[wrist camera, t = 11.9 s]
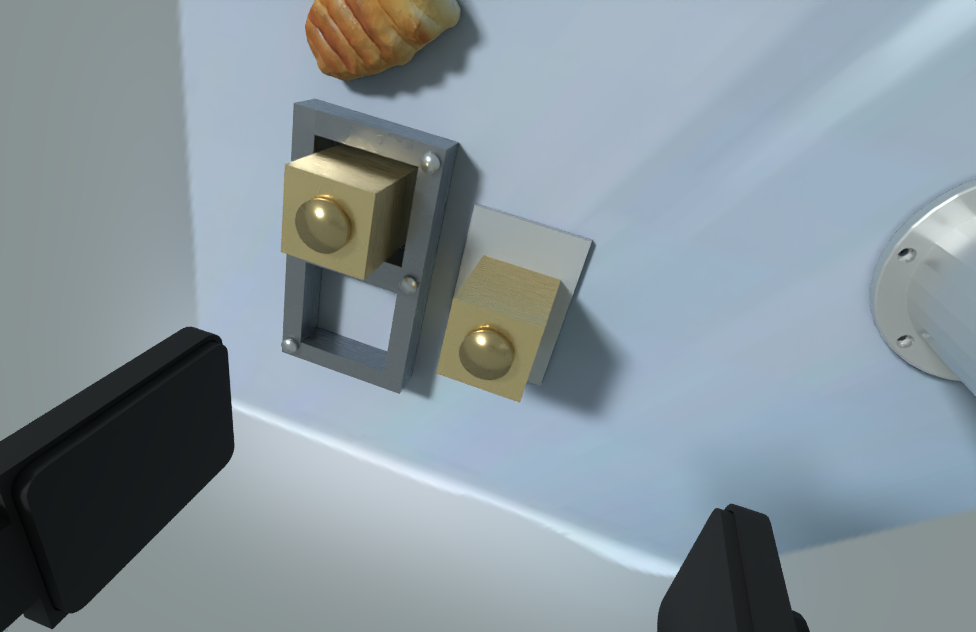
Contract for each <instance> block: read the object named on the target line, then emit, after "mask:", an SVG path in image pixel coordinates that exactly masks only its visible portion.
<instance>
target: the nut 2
mask: <svg viewBox="0 0 976 632" xmlns="http://www.w3.org/2000/svg"><path fill="white" fill-rule="evenodd" d="M560 281H561V280H560V279H556V278H553V277H550V276H547V275H544V274H541V273H538V272H535V271H532V270H529V269H525V268H522V267H519V266H516V265H513V264H510V263H507V262H504V261H501V260H497V259H494V258H491V257H488V256H485V255H483V257H482V258H481V260H480V261H479V262H478V264H477V265H476V267H475V268H474V269H473V271H472V272H471V274H470V275H469V276H468V278H467V279H466V281H465V282H464V283H463V285H462V286H461V288H460V289H459V290H458V292H457V293H456V295H455V296H454V297H453V301H452V305H451V310H450V314H449V319H448V323H447V327H446V332H445V336H444V341H443V345H442V350H441V354H440V358H439V363H438V367H437V372H436V373H437V374H440V375H443V376H445V377H448V378H451V379H454V380H457V381H460V382H463V383H465V384H468V385H471V386H474V387H477V388H480V389H483V390H486V391H488V392H491V393H494V394H497V395H500V396H503V397H506V398H508V399H511V400H514V401H517V402H520V401H521V398H522V395H523V392H524V389H525V386H526V383H527V380H528V377H529V374H530V371H531V368H532V365H533V362H534V359H535V356H536V353H537V350H538V347H539V344H540V341H541V338H542V335H543V332H544V329H545V326H546V323H547V320H548V317H549V314H550V311H551V308H552V305H553V302H554V299H555V296H556V293H557V290H558V287H559V284H560Z"/></svg>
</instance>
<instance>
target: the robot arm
mask: <svg viewBox="0 0 976 632" xmlns="http://www.w3.org/2000/svg"><path fill="white" fill-rule="evenodd" d="M903 249H905V251H904V252H903V253H901V254H899V252H901V251H902V250H903ZM870 309H871V313H872V317H873V320H874V324H875V325H876V327H877V329H878V331H879V332H880V334H881V336H882V338H883V339H884V340H885V341H886V343H887V344H888V345H889V346H890V348H891V349H892V350H893V351H894V352H895V353H896V354H898V355H899V356H900V357H901V358H902V359H904V360H905V361H906V362H907V363H909V364H910V365H912V366H914V367H916V368H918V369H920V370H922V371H924V372H926V373H929V374H932V375H935V376H938V377H941V378H944V379H948V380H955V381H961V382H963V383H964V384H965V385H966V387H967V388H968V389H969V390H970V391H971V392H972V393H973V394H974V395H975V396H976V179H974V180H972V181H969V182H966V183H964V184H961V185H959V186H958V187H956V188H954V189H952V190H950V191H948V192H946V193H945V194H943V195H941V196H939V197H937V198H936V199H934V200H933V201H932V202H930V203H929V204H927V205H926V206H925V207H923V208H922V209H921V210H919V211H918V212H916V213H915V214H914V215H913V216H912V217H911V218H910V219H909V220H908V221H907V222H906V223H905V224H904V225H903V226H902V227H901V228H900V229H899V230H898V231H897V232H896V233H895V235H894V236H893V237H892V239H891V240H890V242H889V243H888V244H887V246H886V247H885V248H884V250H883V252H882V254H881V256H880V258H879V260H878V262H877V264H876V267H875V269H874V272H873V276H872V280H871V285H870ZM233 452H234V433H233V420H232V405H231V391H230V377H229V363H228V351H227V348H226V347H225V346H224V345H223V343H222V340H221V338H220V337H219V336H218V335H215V334H212V333H209V332H206V331H203V330H200V329H197V328H194V327H186V328H183V329H181V330H179V331H178V332H177V333H175V334H173V335H171V336H170V337H168V338H167V339H165V340H163V341H162V342H160V343H158V344H157V345H155V346H154V347H152V348H150V349H149V350H147V351H146V352H144V353H142V354H141V355H139V356H137V357H136V358H134V359H133V360H131V361H130V362H128V363H126V364H125V365H123V366H122V367H120V368H118V369H116V370H115V371H113V372H112V373H110V374H108V375H107V376H105V377H104V378H102V379H100V380H99V381H97V382H95V383H94V384H92V385H91V386H89V387H87V388H86V389H84V390H83V391H81V392H79V393H78V394H76V395H75V396H73V397H71V398H70V399H68V400H66V401H65V402H63V403H62V404H60V405H58V406H57V407H55V408H53V409H52V410H50V411H49V412H47V413H45V414H44V415H42V416H41V417H39V418H37V419H36V420H34V421H32V422H31V423H29V424H28V425H26V426H24V427H23V428H21V429H20V430H18V431H17V432H15V433H13V434H12V435H10V436H8V437H7V438H5V439H3V440H2V441H0V632H7V629H8V627H9V625H11V624H12V623H13V622H14V621H15V620H16V619H17V618H18V617H19V616H21V615H22V614H24V616H25V617H26V618H28V619H30V620H32V621H35V622H37V623H39V624H41V625H44V626H46V627H48V628H51V629H53V628H54V627H55V626H56V625H57V624H58V623H59V622H60V621H61V620H62V619H63V618H65V617H66V615H67V614H69V613H75V612H77V611H79V610H81V609H82V608H83V607H84V606H86V605H87V604H88V603H89V602H90V601H91V600H92V599H93V598H94V597H95V596H96V595H97V594H98V593H99V592H100V591H101V590H102V589H103V588H104V587H105V586H106V585H107V584H108V583H109V582H110V581H111V580H112V579H113V578H114V577H115V576H116V575H117V574H118V573H119V572H120V571H121V570H122V568H124V567H125V566H126V565H127V564H128V563H129V562H130V561H131V560H132V559H133V558H134V557H135V556H136V555H137V554H138V553H139V552H140V551H141V550H142V549H143V548H144V547H145V546H146V545H147V544H148V543H149V542H150V541H151V540H152V539H153V538H154V537H155V536H156V535H157V534H158V533H159V532H160V531H161V530H162V529H163V528H164V527H165V526H166V525H167V524H168V522H170V521H171V520H172V519H173V518H174V517H175V516H176V515H177V514H178V513H179V512H180V511H181V510H182V509H183V508H184V507H185V506H186V505H187V503H189V502H190V501H191V500H192V499H193V498H194V497H195V496H196V495H197V494H198V492H200V491H201V490H202V489H203V488H204V487H205V486H206V485H207V484H208V482H210V481H211V480H212V479H213V478H214V477H215V476H216V475H217V474H218V473H219V472H220V471H221V470H222V469H223V468H224V467H225V466H226V464H227V463H228V462H229V460H230V459H231V457H232V455H233ZM657 624H658V625H657V630H658V631H657V632H810V631H809V628H808V626H807V623H806V621H805V619H804V618H803V617H802V615H801V614H799V613H797V612H795V611H793V610H791V605H790V602H789V597H788V594H787V589H786V585H785V581H784V577H783V572H782V568H781V564H780V560H779V555H778V551H777V547H776V543H775V539H774V535H773V531H772V526H771V523H770V520H769V518H768V517H767V516H766V515H765V514H762V513H759V512H756V511H753V510H750V509H747V508H744V507H741V506H737V505H734V504H729V505H728V506H727V507H726V508H725V510H722V509H719V508H716V509H714V510H713V512H712V513H711V515H710V517H709V519H708V520H707V522H706V524H705V526H704V527H703V529H702V531H701V533H700V535H699V536H698V538H697V540H696V542H695V543H694V545H693V547H692V549H691V550H690V552H689V554H688V556H687V558H686V559H685V561H684V563H683V565H682V566H681V568H680V570H679V572H678V573H677V575H676V577H675V579H674V581H673V582H672V584H671V586H670V588H669V589H668V591H667V593H666V595H665V596H664V598H663V600H662V602H661V605H660V609H659V613H658V623H657Z"/></svg>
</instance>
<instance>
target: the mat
mask: <svg viewBox="0 0 976 632" xmlns="http://www.w3.org/2000/svg"><path fill="white" fill-rule="evenodd" d="M591 243H592V240H591V239H587V238H584V237H581V236H578V235H575V234H571V233H568V232H565V231H562V230H559V229H556V228H552V227H549V226H546V225H543V224H540V223H536V222H533V221H530V220H527V219H524V218H521V217H517V216H514V215H511V214H508V213H505V212H501V211H498V210H495V209H492V208H489V207H486V206H482V205H479V204H475V205H474V209H473V214H472V218H471V223H470V227H469V231H468V236H467V240H466V244H465V249H464V253H463V258H462V262H461V266H460V271H459V275H458V279H457V284H456V288H455V292H454V296H455V295H456V293H457V292H458V290H459V289H460V288H461V286H462V285H463V283H464V282H465V281H466V279H467V278H468V276H469V275H470V274H471V272H472V271H473V269H474V268H475V267H476V265H477V264H478V262H479V261H480V260H481V258H482V257H483V255H485V256H488V257H491V258H494V259H497V260H501V261H504V262H507V263H510V264H513V265H516V266H519V267H522V268H525V269H529V270H532V271H535V272H538V273H541V274H544V275H547V276H550V277H553V278H556V279H560V280H561V281H560V284H559V287H558V290H557V293H556V296H555V299H554V302H553V305H552V308H551V311H550V314H549V317H548V320H547V323H546V326H545V329H544V332H543V335H542V338H541V341H540V344H539V347H538V350H537V353H536V356H535V359H534V362H533V365H532V368H531V371H530V374H529V377H528V380H527V382H529V383H532V384H535V385H538V386H541V383H542V380H543V377H544V374H545V372H546V369H547V366H548V363H549V360H550V357H551V355H552V352H553V349H554V346H555V343H556V341H557V338H558V335H559V332H560V329H561V327H562V324H563V321H564V318H565V315H566V313H567V310H568V307H569V304H570V301H571V299H572V296H573V293H574V290H575V287H576V285H577V282H578V279H579V276H580V273H581V271H582V268H583V265H584V262H585V259H586V257H587V254H588V251H589V248H590V245H591ZM443 341H444V340H443ZM441 350H442V349H441Z"/></svg>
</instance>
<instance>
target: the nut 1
mask: <svg viewBox="0 0 976 632" xmlns="http://www.w3.org/2000/svg"><path fill="white" fill-rule="evenodd" d="M418 168H419V167H417V166H414V165H411V164H408V163H405V162H401V161H398V160H395V159H392V158H389V157H385V156H382V155H379V154H376V153H372V152H369V151H366V150H363V149H360V148H356V147H353V146H350V145H347V144H343V143H341V144H339V145H336V146H333V147H331V148H328V149H325V150H322V151H320V152H317V153H314V154H312V155H309V156H306V157H303V158H301V159H298V160H295V161H293V162H290V163H287V164H285V176H284V198H283V220H282V241H281V252H283V253H286V254H288V255H291V256H294V257H297V258H300V259H303V260H306V261H309V262H312V263H315V264H318V265H320V266H323V267H326V268H329V269H332V270H335V271H338V272H341V273H344V274H347V275H350V276H353V277H355V278H358V279H361V280H365V279H366V278H367V277H368V276H369V275H370V274H371V273H373V272H374V271H375V270H376V269H377V268H378V267H379V266H380V265H382V264H383V263H384V262H385V261H386V260H387V259H388V258H389V257H390V256H392V255H393V254H394V253H395V252H396V251H397V250H398V249H399V248H401V247H402V246H403V245H404V244H405V243H406V239H407V233H408V227H409V221H410V215H411V209H412V203H413V197H414V192H415V186H416V180H417V174H418Z"/></svg>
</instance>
